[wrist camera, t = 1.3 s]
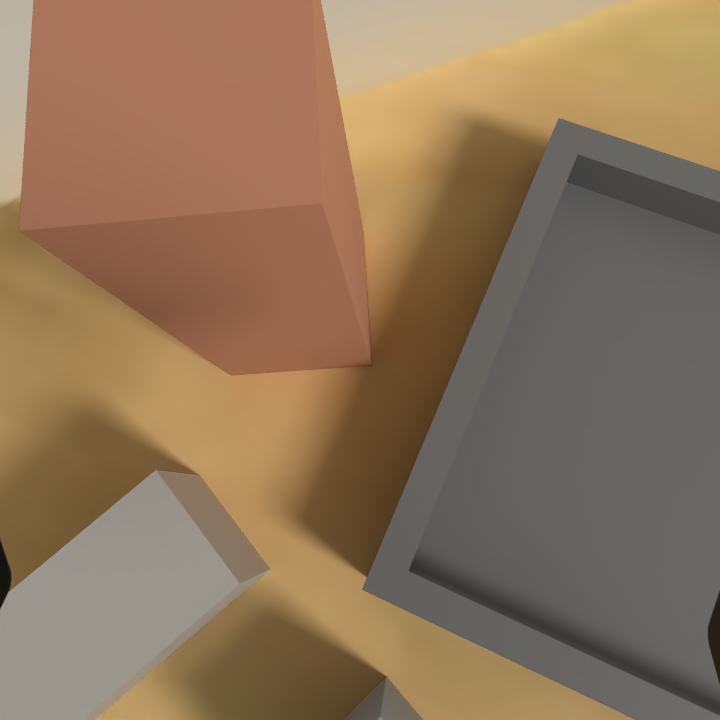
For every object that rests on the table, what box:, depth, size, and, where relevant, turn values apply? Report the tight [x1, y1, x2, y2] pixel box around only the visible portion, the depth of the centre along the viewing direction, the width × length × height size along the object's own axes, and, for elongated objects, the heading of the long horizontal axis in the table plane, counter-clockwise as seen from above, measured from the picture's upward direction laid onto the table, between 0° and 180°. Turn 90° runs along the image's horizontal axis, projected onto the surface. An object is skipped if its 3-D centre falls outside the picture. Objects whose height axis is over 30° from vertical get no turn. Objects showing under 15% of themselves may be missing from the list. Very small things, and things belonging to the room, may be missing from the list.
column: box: [19, 0, 372, 375], centre depth 17 cm, size 5×5×12 cm
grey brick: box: [0, 470, 270, 720], centre depth 19 cm, size 8×4×4 cm, turn 130°
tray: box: [362, 118, 720, 720], centre depth 20 cm, size 16×16×3 cm
